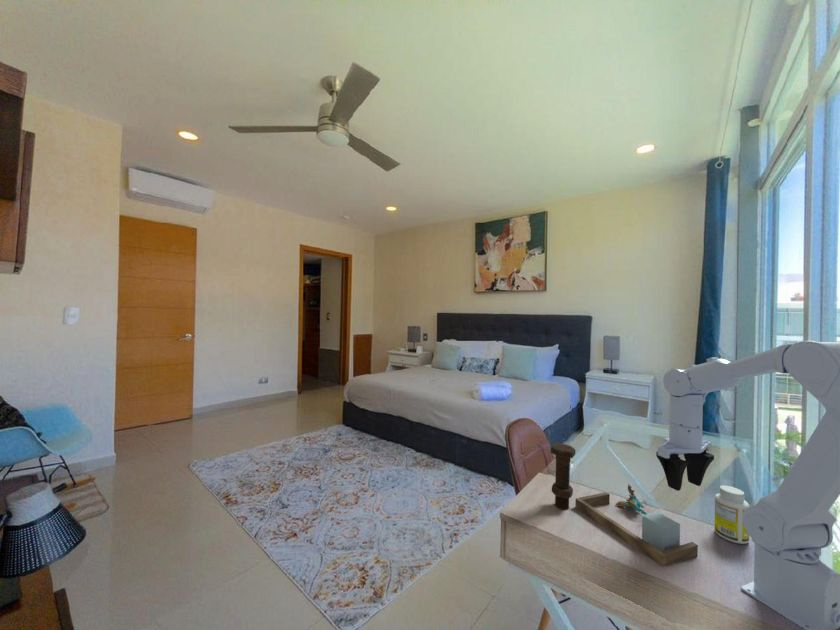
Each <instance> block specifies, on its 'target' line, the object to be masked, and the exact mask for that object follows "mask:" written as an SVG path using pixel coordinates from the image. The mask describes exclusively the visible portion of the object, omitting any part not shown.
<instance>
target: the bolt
mask: <svg viewBox="0 0 840 630" xmlns="http://www.w3.org/2000/svg"><path fill="white" fill-rule="evenodd" d="M550 453H551V454H553V455H555V481H554V482H553V483H552V485H551V492H552V493H553V495H554V505H555V507H556V508H558V509H560V510H563V511H567V510H569V509H570V498H572V496H573V493H574V488H573V487H572V486H571V485H570V478H571V477H570V473H571V472H570V471H571V459H573V458H574V457H575V456H576V449H575V448H574V447H573V446H571V445H569V444H566V443H553V444H552V445H551V447H550Z"/></svg>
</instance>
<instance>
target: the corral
mask: <svg viewBox="0 0 840 630" xmlns="http://www.w3.org/2000/svg"><path fill="white" fill-rule="evenodd" d="M607 505H610V493H608V492H607V491H606V492H605V491H604V492H601V493H595V494H592V495H590V494H589V495H586V496H582V497H575V508H576V509H577V510H579V511H580V512H582V513H583V514H585V515H586V516H588V517H589V518H590V519H592V520H593V521H595V522H597V524H599V525H601V526H602V525H603V526H602V527H604V528H606V529H607V530H608V531H610V532H612V533H613V534H614V535H616V536H617V537H619V538H620V539H622V540H623V541H624V542H626V543H628V544H629V545H631V546H632V547H633V548H635V549H637V550H638V551H640V552H641V553H643V554H644V555H646V556H647V557H649V558H650V559H652V560H653V561H654V562H656V563H657V564H659V565H660V566H662V567H664V566H667V565H668V566H669V565H671V564H675V563H677V562H682V561H686V560H689V559H690V560H691V559H693V558H698V555H699V553H698V551H699V550H698V549H699V547H698V544H697V543H695V542H693V541H690V542H686V543H684V544H680V546H677V547H674V548H671V549H667V550H664V551H659V550H658V549H656V548H655V547H653V546H652V545H650V544H649V543H647V542H646V541H644V540H642V537H640V536H638V535H636V534H635V533H634V532H632V531H630V530H629V529H627V528H626V527H624V526H623V525H621V523H618V522H617V521H615V520H613V519H612V518H610V517H609V516H607V515H606V514H604V513H603V512H601V511H600V510H598V509H596V508H595V507H600V506H601V507H603V506H607Z"/></svg>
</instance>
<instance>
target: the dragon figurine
mask: <svg viewBox="0 0 840 630" xmlns="http://www.w3.org/2000/svg"><path fill="white" fill-rule="evenodd" d="M627 490H628V492H629V495H628V496H629V498H628V499H625V501H624V500H620V501H618V502H616V503H615V506H617V508H619V507H620V506H621V507H622V509H624V508H625V507H626V508H627V507H628V506H630V507H631V508H632V509H633V510H635V511H636V512H638V513H640V514H642V515H646V514H648V513H647V512H646V511H645V510H643V509H644V507H645V506H644V505H643V504H642V502H640V501H639V499H638V498H637V496H636V495H635V490H633V489H632V486H631V485H630V484H627Z"/></svg>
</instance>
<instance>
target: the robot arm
mask: <svg viewBox="0 0 840 630" xmlns="http://www.w3.org/2000/svg"><path fill="white" fill-rule="evenodd" d="M774 373H780V374H783V375H784V374H785V375H786V374H788V375H790V376H791V377H792V378H793V379H794V380H795V381H796V382H798V384H800V385H801V386H802V387H803V388H804V389H805V390H807V392H808V393H810V394H811V395H812V396H813V397H814V398H815V399H816V400H817V401H819V402H820V403H821V404H822V406H823V408H824V409H825V412H824V414H823V416H822V417H821V419H820V421H819V422H818V424H817V426H816V427H815V429H814V430H813V432H812V434H811V436H809V438H808V440H807V442H806V443H805V445H804V447H803V448H802V450H801V452H799V455H798V456H797V458H796V460H795V461H794V463H793V465H792V466H791V468H790V469H789V470H788V473H787V474H786V476H785V478H784V479H783V481H782V482H781V484H780V486H779V487H778V488H777V489H775V490H773V491H772V492H770V493H768V494H766V495H764V496H762V497H761V498H760V499H759V500H758V502H756V503H755V505H752V506H751V505H750V506H749V507H748V508H746V509H745V510H744V512H743V524H744V526H745V529H746V531H747V532H748V534H749V537H750V538H751V541H752V542H753V543H754V555H753V556H754V558H753V559H754V560H753V561H754V562H753V566H754V567H753V581H751V582H748V583H747V584H746V583H745V584H744V585H742V586H741V587H740V589H741V591H742V592H744V593H746V594H747V595H749V596H751V597H752V598H754V599H755V600H757V601H759V602H760V603H762V604H764V605H765V606H767V607H768V608H770V609H771V610H773V611H775V612H776V613H778V614H780V615H781V616H782V617H784V618H786V619H788V620H789V621H790V622H792V623H793V624H795V625H798V626H799V627H800V628H801V629H804V630H838V629H839V628H840V573H839V572H837V571H835V570H834V569H833V568H831V567H829V566H828V565H826V564H825V563H824V562H823V561H821V560H820V557H821V556H822V549H825V548H828V547H829V546H831V545H832V543H833V539H834V536H833V535H834V534H833V526H834V524H835V523H836V522H837V518H836V517H835V515H834V514H833V512H831V511H830V509H832V506H833V505H834V504H835V502H836V501H837V500H838V498H839V497H840V342H839V341H837V342H834V341H826V342H825V341H815V340H802V341H801V340H800V341H798V342H797V341H796V343H793V344H792V343H790V344H781V345H779V346H776V347H773V348H770V349H767V350H764V351H761V352H757V353H755V354H752V355H749V356H746V357H743V358H739V359H736V360H734V361H730V360H727V359H725V358H718V357H709V358H706V362H704V363H700V364H699V363H698V364H688V365H687V368H685V369H679V368H671V369H670V370H668V371H666V373H665V374H664V375H663V380H662V381H663V386H664V389H665V390H666V391H667V392H668V394H669V420H668V421H669V425H668V427H669V428H668V434H669V435H668V437H664V439H663V441H664V443H663V444H661V445H658V446H657V451H656V453H655V454H656V458H657V460H658V462H659V463H660V465H661V467H662V469H663V471H664V475H665V479H666V482H667V486H668V487H669V488H670V489H673V490H675V491H677V492H679V491H681V489H682V486H683V478H684V473H685V471H686V477H687V481H688V483H690V484H693V485H695V486H697V487H701V485H702V482H703V480H704V477H705V474H706V471H707V469H708V468H709V466H710V464H711V463H712V462H713V461H714V460H715V455H714V454H712V453H710V452H711V451H712V442H711V441H708V440H706V439H705V440H704V439H703V419H704V418H703V417H704V416H703V415H704V414H703V413H704V410H703V407H704V404H705V403H706V397H707V395H708V394H710V393H712V392H718V391H722V390H723V391H724V390H727V389H734V388H736V387H737V386H739V385H740V384H741V381H742V379H746V378H753V377H757V376H758V377H759V376H762V375H768V374H769V375H770V374H774ZM680 455H683V458H684V459H682V458H681V456H680Z"/></svg>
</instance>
